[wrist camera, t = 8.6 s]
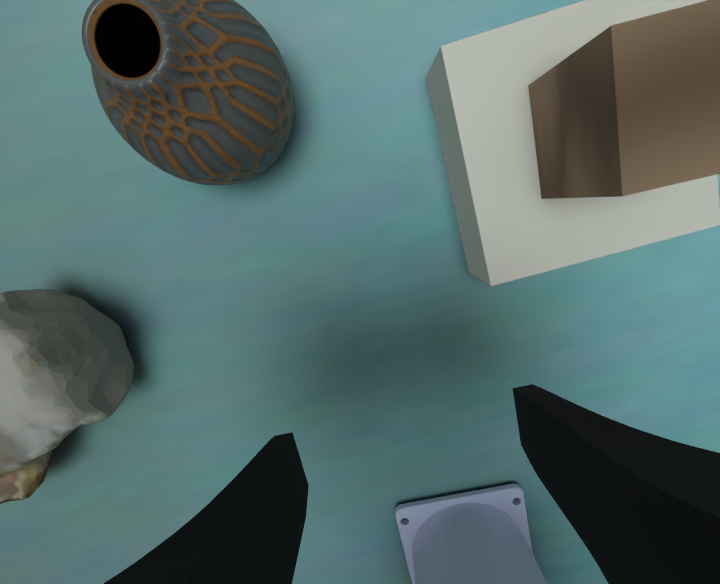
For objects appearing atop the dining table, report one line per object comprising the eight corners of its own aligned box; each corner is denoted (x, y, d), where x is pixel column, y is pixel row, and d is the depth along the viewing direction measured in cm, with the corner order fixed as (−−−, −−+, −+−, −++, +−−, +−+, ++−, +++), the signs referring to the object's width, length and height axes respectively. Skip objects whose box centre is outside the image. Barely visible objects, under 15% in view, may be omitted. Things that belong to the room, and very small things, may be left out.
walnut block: (649, 173, 15) (782, 159, 10) (541, 198, 16) (622, 196, 11) (643, 55, 14) (789, -21, 9) (528, 85, 15) (611, 25, 10)
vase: (309, 48, 18) (258, -103, 9) (300, 195, 19) (248, 186, 11) (166, 32, 17) (-23, -136, 9) (168, 181, 19) (9, 160, 10)
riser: (649, 221, 20) (720, 224, 16) (466, 271, 20) (490, 286, 16) (628, 16, 17) (704, -38, 14) (424, 80, 18) (440, 46, 14)
